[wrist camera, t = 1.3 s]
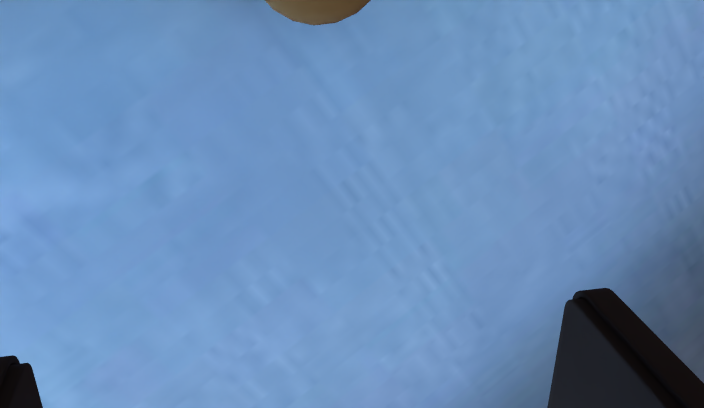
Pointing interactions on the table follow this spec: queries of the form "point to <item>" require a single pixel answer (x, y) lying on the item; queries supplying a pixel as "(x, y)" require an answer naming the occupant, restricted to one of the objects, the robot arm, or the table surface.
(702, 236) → the table surface
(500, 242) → the table surface
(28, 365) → the robot arm
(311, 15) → the brown rounded tall piece
